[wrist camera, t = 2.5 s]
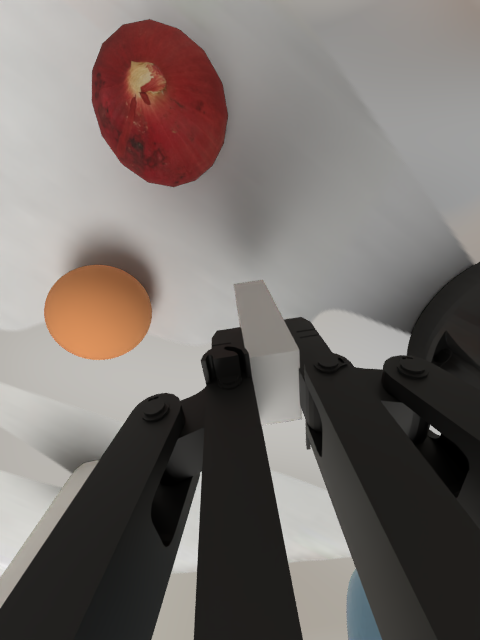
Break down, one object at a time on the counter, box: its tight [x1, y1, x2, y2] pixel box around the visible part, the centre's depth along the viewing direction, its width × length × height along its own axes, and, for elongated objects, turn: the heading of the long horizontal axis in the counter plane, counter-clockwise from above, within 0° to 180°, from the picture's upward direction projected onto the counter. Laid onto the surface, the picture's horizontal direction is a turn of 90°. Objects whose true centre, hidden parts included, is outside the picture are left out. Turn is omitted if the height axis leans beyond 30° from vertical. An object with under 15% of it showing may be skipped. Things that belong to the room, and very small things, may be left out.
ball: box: [44, 265, 152, 360], centre depth 17 cm, size 6×6×6 cm
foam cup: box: [0, 460, 99, 608], centre depth 22 cm, size 10×9×13 cm
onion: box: [92, 19, 228, 187], centre depth 12 cm, size 6×6×8 cm
